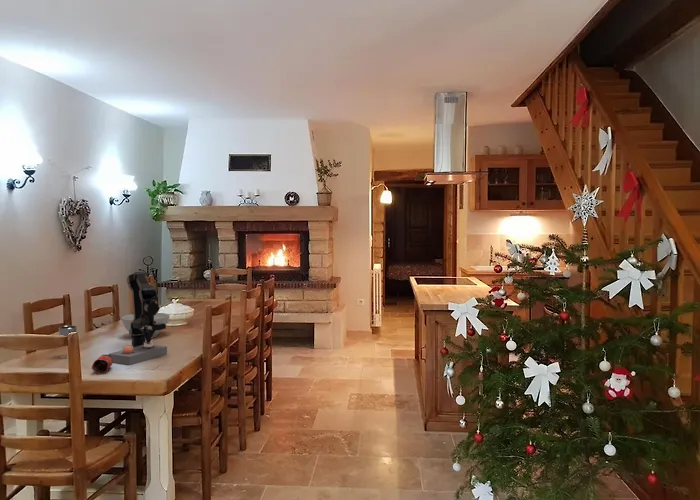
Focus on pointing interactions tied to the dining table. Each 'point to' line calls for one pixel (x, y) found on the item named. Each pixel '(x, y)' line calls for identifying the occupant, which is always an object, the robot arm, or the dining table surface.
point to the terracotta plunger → (127, 349)
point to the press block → (138, 354)
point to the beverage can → (102, 363)
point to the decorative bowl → (158, 318)
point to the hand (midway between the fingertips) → (148, 342)
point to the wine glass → (67, 332)
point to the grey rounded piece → (148, 345)
